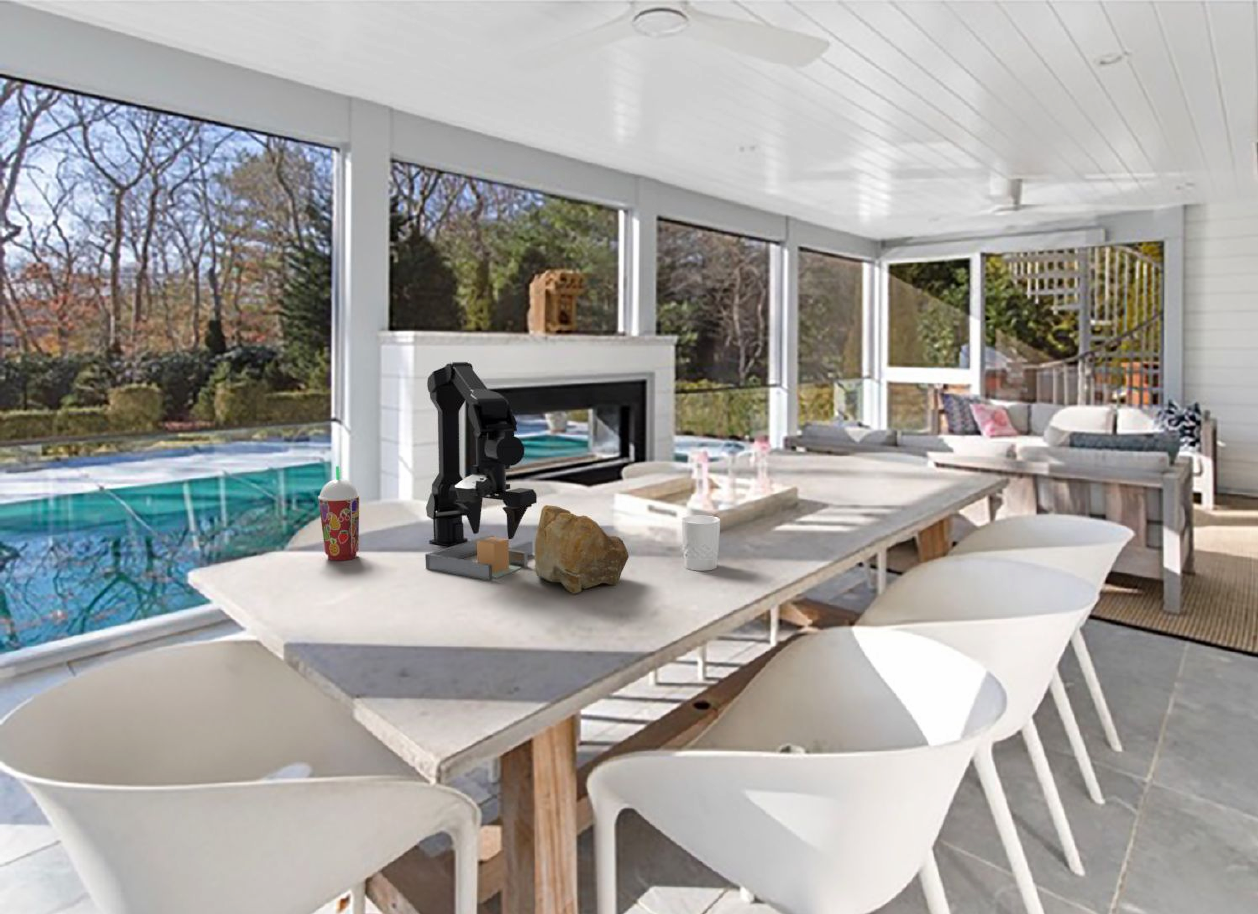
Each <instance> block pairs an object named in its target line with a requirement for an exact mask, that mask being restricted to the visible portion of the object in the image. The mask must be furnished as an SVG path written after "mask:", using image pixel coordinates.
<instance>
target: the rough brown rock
mask: <svg viewBox="0 0 1258 914" xmlns="http://www.w3.org/2000/svg"><path fill="white" fill-rule="evenodd" d="M537 527H538V528H537V532H536V536H535V541H534V572H535V574H536V576H537V577H538V578H540V579H544V580H545V581H548V582H550V583H561V584H562V586H563V587H564V588H565V589H566V590H567V591H568V592H570V593H571V594H573V595H575V594H578V593H580V592H582V589H585V590H586V589H588V588H589V589H590V588H592V587H595V586H598V585H600V584H607V585H613V586H614V585H617V584H618V583H619V581H620V579H621V577H622V576H621V575H622V572H623V571H624V568H625V566H626V564H627V562H628V560H629V557H630V556H629V552H628V550H627V548H626V544H625V542H624V540H622V539H621V537H619V536H616V535H615V536H614V535H610V534H607V533H606V532H605V531H604V529H603V528H602V527H601V526H600V525H599V523H597V522H596V520H593V519H592V518H590V517H588V516H587V515H579V516H578V515H576V514H575V513H572V512H571V511H570V510H567V509H565V508H562V507H560V506H557V505H548V504H545V505H544V506H543V507H542V508H541V510H540V517H539V522H538V525H537Z"/></svg>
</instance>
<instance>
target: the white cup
mask: <svg viewBox="0 0 1258 914" xmlns="http://www.w3.org/2000/svg"><path fill="white" fill-rule="evenodd" d="M720 528H721V519H720V517H716V516H711V515H702V514H701V515H687V516H684V517H682V518H681V535H682V536H681V539H682V553H683V563H684V564H683V565H684V567H685V569H687V570H692V571H698V572H699V571H701V572H704V571H705V572H706V571H711V570H715V569H717V568H718V567H717V566H718V555H719V547H720V533H721V532H720V530H721V529H720Z"/></svg>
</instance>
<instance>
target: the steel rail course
mask: <svg viewBox="0 0 1258 914" xmlns="http://www.w3.org/2000/svg"><path fill="white" fill-rule="evenodd" d="M489 537H495V536H494V535H493V534H488V535H485V536H482V537H479V538H475V539H472V540H467V541H464V542H460V543H457V544H454V545H450V546H449V547H448V546H447V547H445V548H442V549H439V550H436V551H432V552H429V553H425V554H424V555H425V556H424V557H425V569H427V570H431V571H436V572H442V573H447V574H453V575H458V576H462V577H468V578H472V579H473V578H474V579H477V580H483V581H488V582H490V581H492V580H493V578H492V565H491V564H486V563H480V562H477V561H474V560H468V559H465V558H468V557H471V556H474V555H477V541H479V540H483V539H486V538H489ZM532 555H533V540H526V541H523V542H521V543H520V542H519V543H517V544H514V545H512V546H509V565H512V566H518V567H522V568H527V567H528V564H529V563H528V557H530V556H532Z"/></svg>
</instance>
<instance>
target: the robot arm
mask: <svg viewBox="0 0 1258 914" xmlns="http://www.w3.org/2000/svg"><path fill="white" fill-rule="evenodd" d="M426 383H427V386H426V387H427V391H428V393H429V398H430V401H431V402H432V404H433V406H434V407H435V409H436V410H437V437H438V438H437V439H438V440H437V441H438V443H437V444H438V447H437V449H438V473H437V476H436V477H435V479H434V480H433V482H432V484H431V493H430V495H429V497H428V499H427V503H426V507H425V511H426V516H427V517H428V518H430V519H431V520H432V521H433V524H432V526H433V539H429V540H428V543H429V544H436V545H442V546H447V547H448V546H449V547H451V546H455V545H458V544H461V543H465V542H468V541H469V540H468V537H465V536H464V531H465V530H464V522H463V517H464V516H466V518H467V521H468V524H469V526H470V528H471V531H472V533H473V534H474V535H476V534H479V530H480V526H481V518H482V516H481V515H482V507H483V499H490V500H499V501H502V502H503V504H504V505H505V506H504V507H502V510H503V512H504V513H505V514H506V531H507V539H509V540H512V539H514V537H515V535H516V533H517V531H518V528H519V525H520V524H521V522H522V519H523V517H524V515H525V514H526V511H528V508H531V507H532V506H533V505H534V504H537V501H538V499H537V497H538V496H537V492H536V491H535V490H534V488H527V487H526V488H525V487H518V488H514V489H511V484H510V483H507V479H506V478H507V475H506V474H507V473H506V471H507V470H510V469H511V467H512V466H516V465H517V464H519V463H520V462H521V461H522V459H523V458H524V455H525V446H524V443H523V442H522V441H521V439H520V438H519V437H517V436H515V432H517V431H518V428H517V425H518V422H517V420H516V418H515V415H514V412H513V410H512V408H511V405H510V403H509V402H508V400H507V399H506V398H505V397H504V396H503V395H502V394H501V393H499V392H496V391H492V390H490V389H489V388H488V387H487V386H486V384H485V383H484V382H483V381H482V380H481V379H480V377H479V376H478V374H477V373H476V372H475V371H474V367H473V365H472V363H470V362H468V361H451V362H449V363H447V364H446V365H444V366H443V367H441V368H438V369H435V370H434V371H432V372H431V373H430V375H429V376H428V378H427V381H426ZM465 402H466V403H467V404H468V409H467V412H468V413H467V415H468V419H469V421H470V422H471V425H472V427H473V429H474V431H473V435H474V436H475V455H476V458H475V459H476V464H475V465H474V464H473V465H472V466H471V469H470V470H471V471H470V475H468V476H466V477H464V478H463V477H462V476H461V471H460V469H461V468H460V463H461V462H460V455H461V454H460V411H461V409H462V407H463V405H464V403H465Z"/></svg>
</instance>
